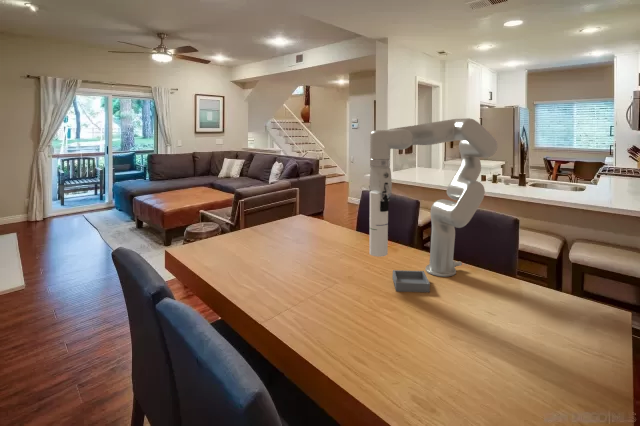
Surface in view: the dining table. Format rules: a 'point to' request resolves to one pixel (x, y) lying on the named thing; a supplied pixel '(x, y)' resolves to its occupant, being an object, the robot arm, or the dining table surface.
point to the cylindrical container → (378, 227)
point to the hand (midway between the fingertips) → (379, 208)
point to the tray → (410, 281)
